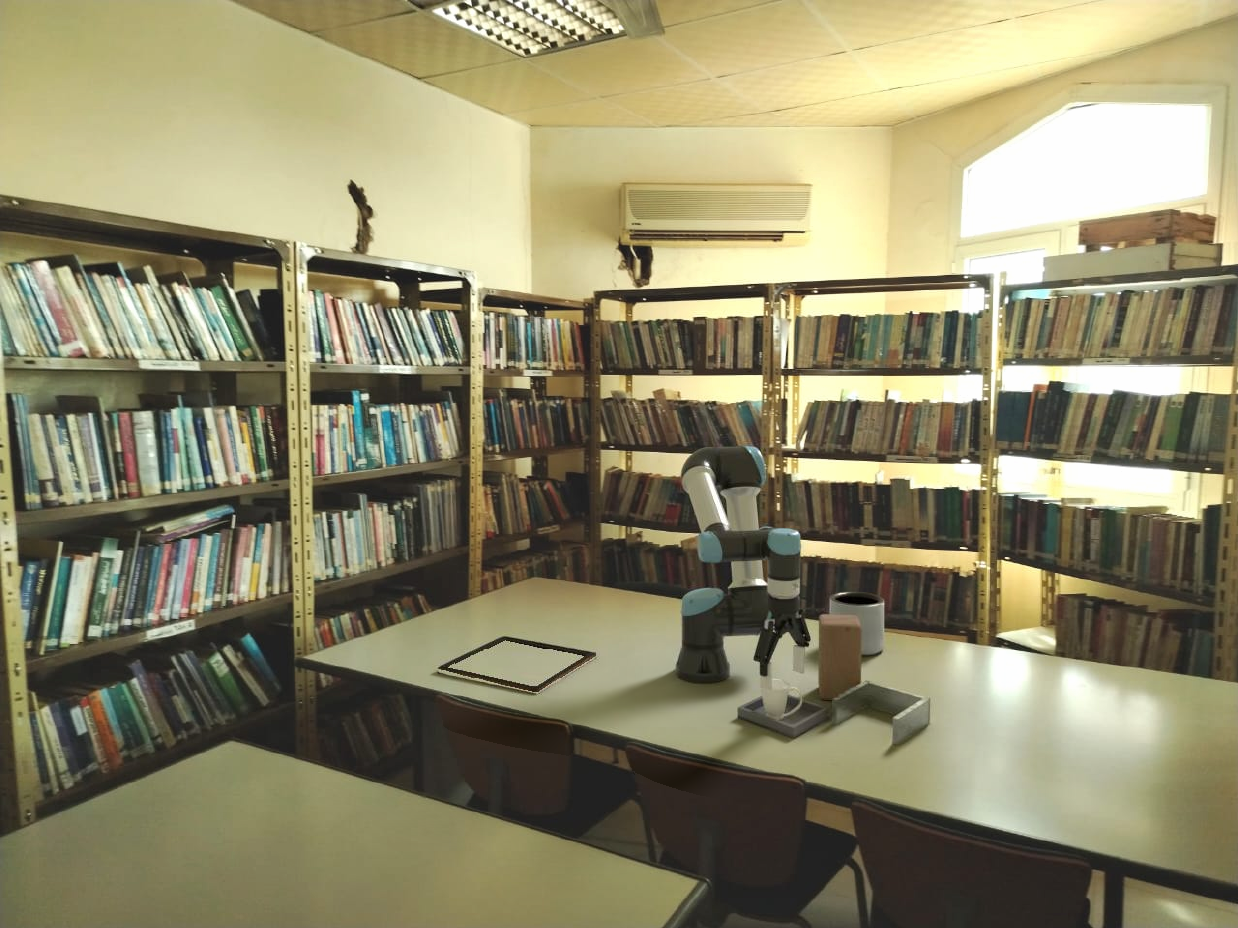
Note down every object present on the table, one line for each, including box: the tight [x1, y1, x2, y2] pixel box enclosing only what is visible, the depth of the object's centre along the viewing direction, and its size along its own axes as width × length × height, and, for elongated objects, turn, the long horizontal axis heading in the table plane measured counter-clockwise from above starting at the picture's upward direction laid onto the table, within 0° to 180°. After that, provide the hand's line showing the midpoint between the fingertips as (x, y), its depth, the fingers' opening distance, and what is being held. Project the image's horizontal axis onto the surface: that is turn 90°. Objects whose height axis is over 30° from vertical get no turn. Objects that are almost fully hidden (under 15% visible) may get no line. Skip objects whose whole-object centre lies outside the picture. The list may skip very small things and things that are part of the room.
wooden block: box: [817, 613, 862, 701], centre depth 200 cm, size 10×10×20 cm
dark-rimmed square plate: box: [437, 635, 597, 692], centre depth 226 cm, size 38×35×3 cm
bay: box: [831, 679, 931, 746], centre depth 183 cm, size 16×16×6 cm
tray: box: [737, 694, 830, 739], centre depth 187 cm, size 16×15×3 cm
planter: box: [828, 591, 885, 657], centre depth 235 cm, size 16×16×16 cm
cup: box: [760, 678, 803, 720], centre depth 187 cm, size 7×10×8 cm
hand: (782, 679), depth 187 cm, fingers open, 13 cm apart
